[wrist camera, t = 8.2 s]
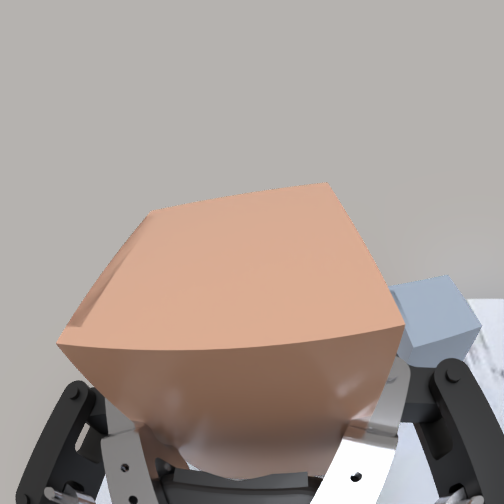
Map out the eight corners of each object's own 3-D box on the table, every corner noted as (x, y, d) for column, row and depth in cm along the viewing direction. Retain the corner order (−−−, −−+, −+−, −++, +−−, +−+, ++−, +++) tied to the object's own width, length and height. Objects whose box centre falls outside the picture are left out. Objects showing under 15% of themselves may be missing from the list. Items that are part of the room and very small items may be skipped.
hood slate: (420, 352, 25) (447, 274, 19) (437, 398, 19) (482, 326, 14) (369, 364, 25) (385, 286, 20) (382, 414, 20) (413, 347, 14)
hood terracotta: (329, 372, 14) (327, 182, 9) (341, 472, 9) (405, 324, 3) (223, 381, 15) (151, 210, 9) (212, 477, 10) (55, 343, 4)
